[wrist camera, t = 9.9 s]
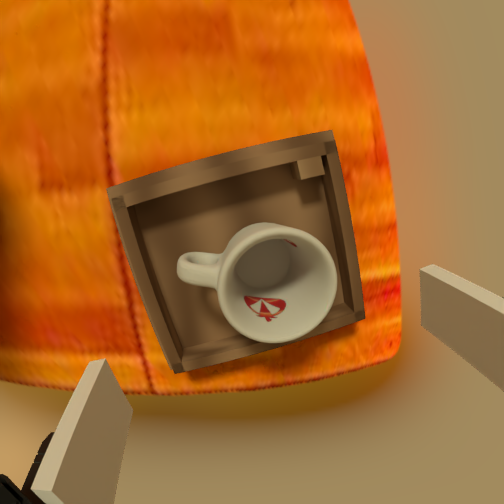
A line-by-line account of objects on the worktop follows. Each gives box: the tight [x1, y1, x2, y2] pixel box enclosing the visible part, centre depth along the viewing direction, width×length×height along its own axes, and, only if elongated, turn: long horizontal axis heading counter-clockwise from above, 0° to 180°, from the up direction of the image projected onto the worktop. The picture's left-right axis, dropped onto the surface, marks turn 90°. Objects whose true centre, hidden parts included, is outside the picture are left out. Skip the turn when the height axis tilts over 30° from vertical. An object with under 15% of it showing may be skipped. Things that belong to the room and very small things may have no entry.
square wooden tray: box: [106, 130, 365, 374], centre depth 28 cm, size 20×18×4 cm
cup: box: [177, 222, 337, 343], centre depth 24 cm, size 11×8×8 cm
